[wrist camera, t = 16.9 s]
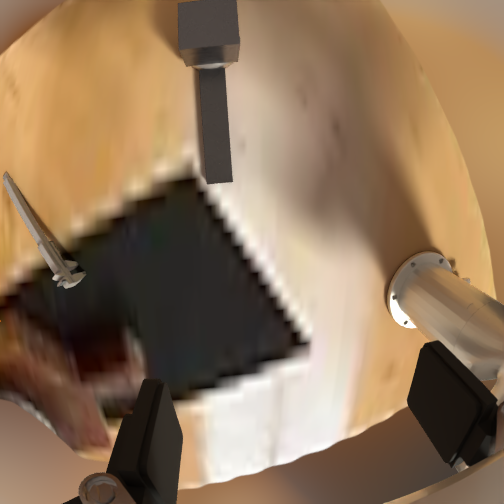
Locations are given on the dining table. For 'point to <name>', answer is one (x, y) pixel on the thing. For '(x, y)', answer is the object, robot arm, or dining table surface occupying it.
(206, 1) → the grey stone cube
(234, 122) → the dining table surface
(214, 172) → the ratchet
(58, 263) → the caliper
